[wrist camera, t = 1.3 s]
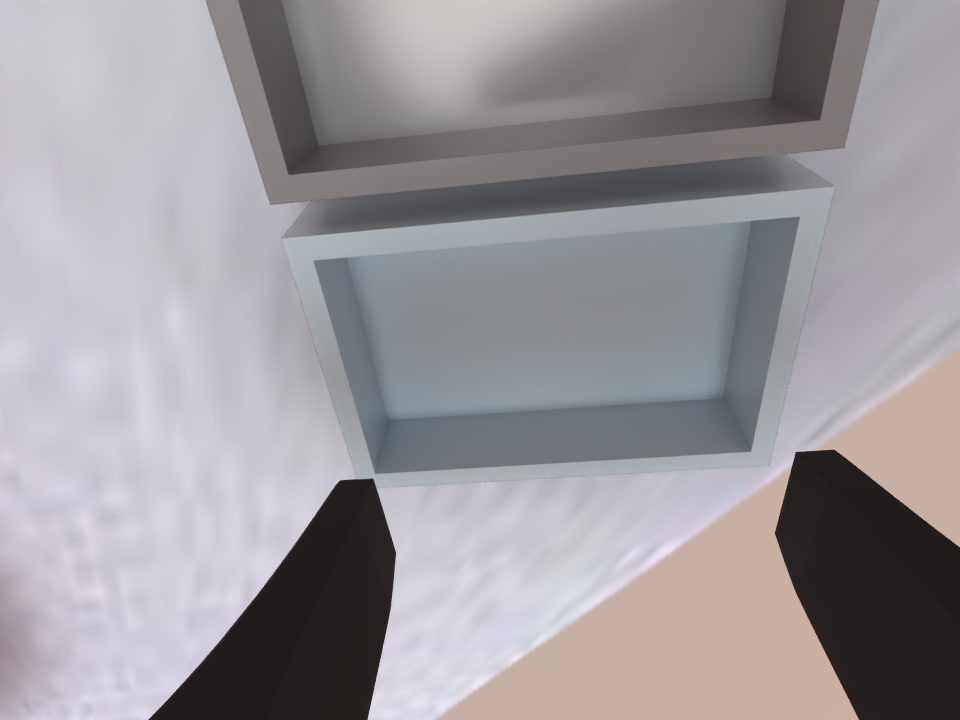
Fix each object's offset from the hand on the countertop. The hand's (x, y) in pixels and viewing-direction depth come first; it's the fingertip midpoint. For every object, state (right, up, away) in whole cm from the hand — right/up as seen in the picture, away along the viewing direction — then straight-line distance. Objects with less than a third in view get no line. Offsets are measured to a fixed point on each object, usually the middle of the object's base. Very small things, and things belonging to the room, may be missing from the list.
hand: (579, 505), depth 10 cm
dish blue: (0, +4, +7) cm, 8 cm away
